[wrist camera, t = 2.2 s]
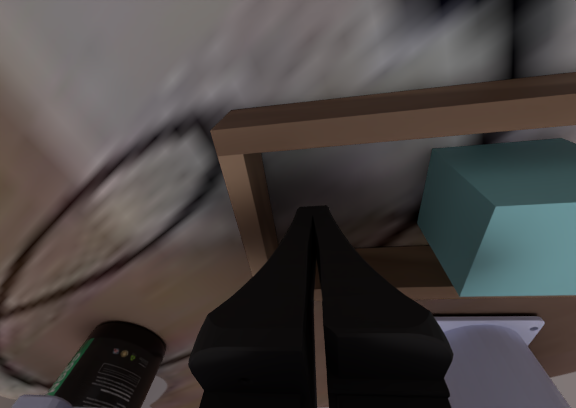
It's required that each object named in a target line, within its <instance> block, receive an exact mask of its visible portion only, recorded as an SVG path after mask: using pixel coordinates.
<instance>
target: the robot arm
mask: <svg viewBox="0 0 576 408" xmlns="http://www.w3.org/2000/svg"><path fill="white" fill-rule="evenodd" d="M316 260H317V266H318V273H319V280H320V286H321V293H322V306H323V327H324V340H325V354H326V368H327V385H328V399H329V408H571V407H570V406H569V404H568V403H567V401H566V400H565V398H564V397H563V396H562V394H561V393H560V391H559V390H558V389H557V387H556V386H555V384H554V383H553V382H552V380H551V379H550V377H549V376H548V374H547V373H546V372H545V370H544V369H543V367H542V366H541V364H540V363H539V362H538V360H537V359H536V357H535V356H534V354H533V353H532V352H531V350H530V349H529V347H528V345H529V344H530V342H531V341H532V340H533V339H534V337H535V336H536V335H537V333H538V332H539V331H540V329H541V328H542V327H543V325H544V323H545V322H544V321H543V320H542V318H541V317H539V316H463V317H434V316H433V315H432V313H431V312H430V311H429V310H427V309H426V308H424V307H423V306H421V305H419V304H418V303H416V302H415V301H413V300H412V299H410V298H409V297H407V296H406V295H405V294H403V293H402V292H401V291H399V290H398V289H397V288H395V287H394V286H393V285H392V284H390V283H389V282H388V281H387V280H386V279H385V278H383V277H382V276H381V275H380V274H379V273H378V272H376V271H375V270H374V269H373V268H372V267H371V266H370V265H369V264H368V263H367V262H366V261H365V260H364V259H363V258H362V257H361V256H360V255H359V253H358V252H357V251H356V250H355V249H354V248H353V246H352V245H351V244H350V243H349V241H348V240H347V239H346V237H345V236H344V235H343V233H342V232H341V230H340V229H339V227H338V225H337V224H336V222H335V220H334V219H333V217H332V215H331V213H330V210H329V207H327V206H326V205H325V206H309V207H299V208H298V209H297V212H296V215H295V217H294V220H293V222H292V224H291V226H290V227H289V229H288V231H287V233H286V235H285V236H284V238H283V239H282V241H281V243H280V244H279V246H278V247H277V249H276V250H275V251H274V253H273V254H272V255H271V257H270V258H269V259H268V261H267V262H266V263H265V264H264V265H263V266H262V268H261V269H260V270H259V271H258V272H257V273H256V274H255V275H254V276H253V277H252V278H251V279H250V280H249V281H248V282H247V283H246V284H245V285H244V286H243V287H242V288H241V289H239V290H238V291H237V292H236V293H235V294H234V295H233V296H232V297H230V298H229V299H228V300H227V301H225V302H224V303H223V304H221V305H220V306H219V307H217V308H216V309H215V310H213V311H212V312H211V313H209V314H208V315H207V317H206V319H205V321H204V323H203V325H202V327H201V329H200V331H199V334H198V336H197V339H196V342H195V344H194V347H193V350H192V353H191V355H190V358H189V364H188V365H189V368H190V370H191V372H192V374H193V375H194V377H195V378H196V380H197V381H198V382H199V384H200V385H201V387H202V388H203V389H204V393H203V396H202V400H201V403H200V407H199V408H317V392H316V367H315V339H314V289H315V273H316ZM11 408H97V407H72V405H71V404H70V403H69V402H68V401H66V400H65V399H63V398H60V397H57V396H51V395H22V396H20V397H19V398H18V399H17V401H16V402H15V403H14V404H13V406H12V407H11Z"/></svg>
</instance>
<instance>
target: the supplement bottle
mask: <svg viewBox="0 0 576 408" xmlns="http://www.w3.org/2000/svg"><path fill="white" fill-rule="evenodd" d="M164 354H165V348H164V344H163V342H162V341H161V340H160V339H159V338H158V337H157V336H156V335H155V334H153V333H152V332H150V331H148V330H146V329H144V328H142V327H139V326H136V325H133V324H128V323H121V322H111V323H106V324H103V325H101V326H99V327H97V328H96V329H95V330H93V332H92V333H91V334H90V335H89V337H88V338H87V339H86V341H85V342H84V343H83V345H82V346H81V347H80V349H79V350H78V351H77V353H76V354H75V356H74V357H73V358H72V360H71V361H70V362H69V364H68V365H67V367H66V368H65V369H64V371H63V372H62V373H61V375H60V376H59V377H58V379H57V380H56V382H55V383H54V384H53V386H52V387H51V388H50V390H49V391H48V393H47V394H46V395H51V396H57V397H60V398H63V399H65V400H66V401H68V402H69V403H70V404H71V405H72V407H97V408H141V406H142V404H143V402H144V400H145V398H146V395H147V393H148V391H149V389H150V387H151V384H152V382H153V380H154V378H155V375H156V373H157V371H158V369H159V366H160V364H161V362H162V359H163V357H164Z"/></svg>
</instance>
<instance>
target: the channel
mask: <svg viewBox="0 0 576 408" xmlns="http://www.w3.org/2000/svg"><path fill="white" fill-rule="evenodd" d="M569 125H576V72H572V73H563V74H554V75H545V76H536V77H527V78H518V79H509V80H500V81H491V82H482V83H473V84H464V85H455V86H446V87H436V88H427V89H418V90H409V91H400V92H391V93H382V94H373V95H364V96H355V97H346V98H337V99H328V100H319V101H310V102H301V103H292V104H283V105H274V106H265V107H256V108H247V109H238V110H231V111H230V112H229V113H228V114H227V115H226V116H225V117H224V118H223V119H222V120H221V121H220V122H219V123H218V124H217V125H216V126H214V127H213V128H212V129H211V130H210V132H211V135H212V138H213V142H214V145H215V149H216V152H217V156H218V159H219V163H220V166H221V170H222V173H223V176H224V180H225V183H226V187H227V190H228V194H229V197H230V201H231V204H232V207H233V211H234V214H235V218H236V221H237V225H238V228H239V232H240V235H241V239H242V242H243V245H244V249H245V252H246V256H247V259H248V263H249V266H250V270H251V273H252V276H254V275H255V274H256V273H257V272H258V271H259V270H260V269H261V268H262V266H263V265H264V264H265V263H266V262H267V261H268V259H269V258H270V257H271V255H272V254H273V253H274V251H275V250H276V249H277V247H278V241H277V236H276V231H275V225H274V220H273V215H272V209H271V204H270V199H269V193H268V188H267V183H266V177H265V172H264V167H263V161H262V156H261V153H262V152H273V151H285V150H296V149H307V148H319V147H330V146H342V145H353V144H364V143H376V142H387V141H398V140H410V139H421V138H432V137H444V136H455V135H466V134H478V133H489V132H500V131H512V130H523V129H535V128H546V127H557V126H569ZM355 250H356V251H357V252H358V253H359V255H360V256H361V257H362V258H363V259H364V260H365V261H366V262H367V263H368V264H369V265H370V266H371V267H372V268H373V269H374V270H375V271H376V272H378V273H379V274H380V275H381V276H382V277H383V278H385V279H386V280H387V281H388V282H389V283H390V284H392V285H393V286H394V287H395V288H397V289H398V290H399V291H401V292H402V293H403V294H405V295H406V296H407V297H409V298H410V299H472V298H541V297H576V295H549V296H475V297H459V295H458V293H457V291H456V290H455V288H454V286H453V285H452V283H451V281H450V279H449V278H448V276H447V274H446V272H445V271H444V269H443V267H442V265H441V264H440V262H439V260H438V259H437V257H436V255H435V253H434V252H433V250H432V248H431V246H407V247H381V248H356V249H355ZM314 301H322V293H321V286H320V280H319V273H318V266H317V260H316V273H315V289H314Z"/></svg>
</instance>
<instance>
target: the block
mask: <svg viewBox="0 0 576 408" xmlns="http://www.w3.org/2000/svg"><path fill="white" fill-rule="evenodd" d="M417 224H418V226H419V227H420V229H421V231H422V233H423V234H424V236H425V238H426V240H427V241H428V243H429V245H430V246H431V248H432V250H433V252H434V253H435V255H436V257H437V259H438V260H439V262H440V264H441V265H442V267H443V269H444V271H445V272H446V274H447V276H448V278H449V279H450V281H451V283H452V285H453V286H454V288H455V290H456V291H457V293H458V295H459V297H475V296H549V295H576V144H575V143H572V142H570V141H568V140H565V139H563V138H558V139H545V140H533V141H521V142H509V143H496V144H484V145H472V146H459V147H447V148H435V149H432V153H431V158H430V163H429V168H428V172H427V177H426V182H425V187H424V192H423V197H422V201H421V206H420V211H419V216H418V221H417Z"/></svg>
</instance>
